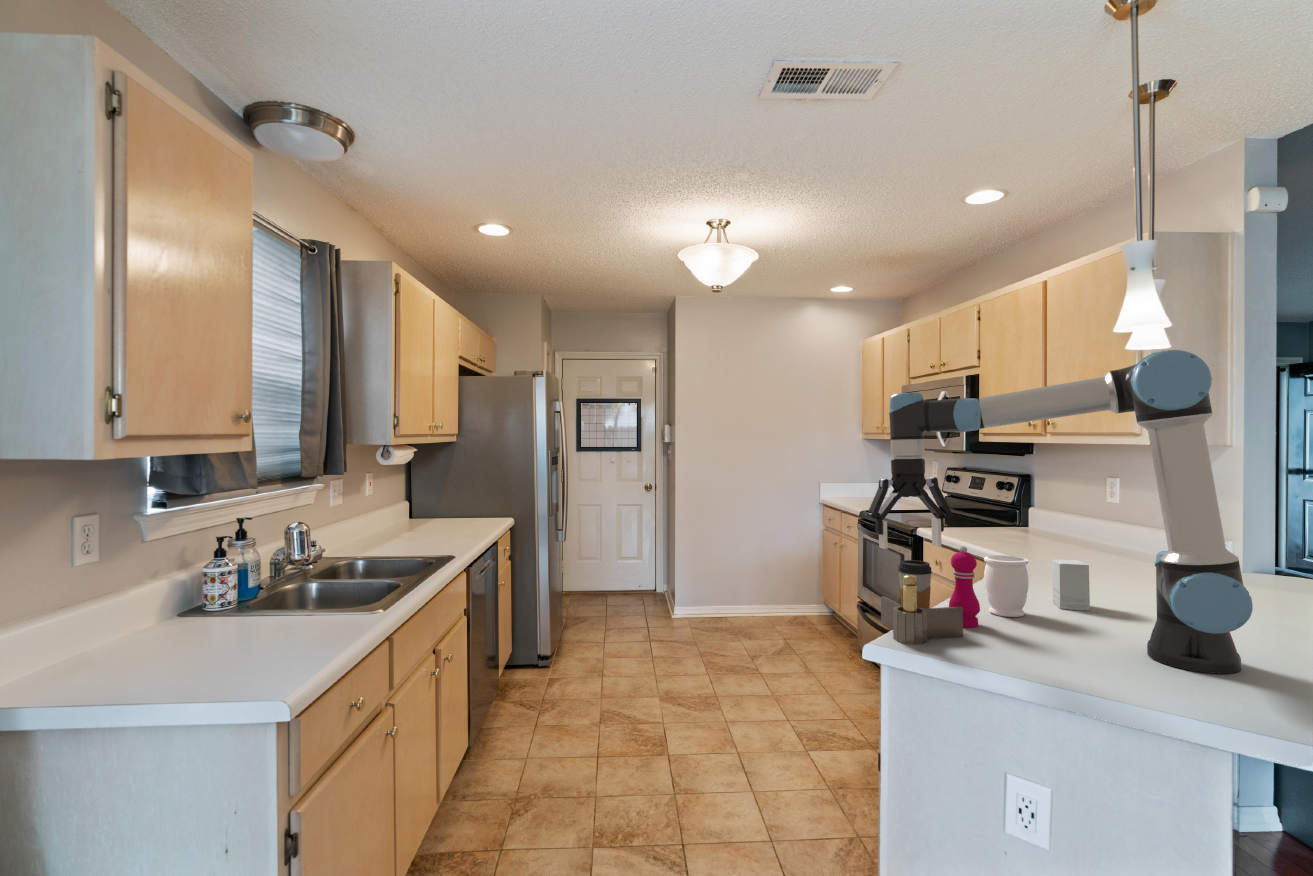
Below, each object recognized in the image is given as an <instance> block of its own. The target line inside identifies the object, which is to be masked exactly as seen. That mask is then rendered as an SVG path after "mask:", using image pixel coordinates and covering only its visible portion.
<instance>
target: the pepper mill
mask: <svg viewBox="0 0 1313 876" xmlns="http://www.w3.org/2000/svg"><path fill="white" fill-rule="evenodd" d="M977 563H978V561H977V559H976V557H975V556H974V555H973V554H972V553H970V552H968V548H967V547H966V546H964V545H962V546H960V547H959V552H956V553H954V554H952V556H951V558H950V565H951V567H952V568H953V571H952V577H954V580H955V583H954V589H953V591H952V594H951V596H950V598H949V601H948V607H962V608H963V628H975V627H976V628H977V627H978V626H979V617H977V616H978V614H979V613H980V612H981V605H980V602H979V599H978V597H977V595H976V593H975V589H974V585H973V582H974V578H975V572H974V570H975V569H976V568H977V565H978V564H977Z"/></svg>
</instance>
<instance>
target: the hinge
mask: <svg viewBox="0 0 1313 876" xmlns="http://www.w3.org/2000/svg"><path fill="white" fill-rule="evenodd" d="M880 624H882V625H883V626H885V627H886V628H888V629H890V630H892V633H893V637H892V639H893V640H895V641H896V642H899V643H901V644H907V645H908V644H909V645H924V644H926V643H928V640H931V639H932V640H933V639H949V638H950V639H951V638H963V637H964V627H963V608H962V607H949V606H947V607H945V606H944V607H943V606H942V607H929V608H924V609H923V608H920V607H917V613H906V612H903V605H901V603H900V602H897V601H895V600H893V599H891V598H890V597H889V598H888V597H886V596H884V595H883V596H880Z"/></svg>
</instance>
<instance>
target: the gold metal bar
mask: <svg viewBox="0 0 1313 876" xmlns="http://www.w3.org/2000/svg"><path fill="white" fill-rule="evenodd" d="M903 612H906V613H917V577H916V576H914V575H903Z"/></svg>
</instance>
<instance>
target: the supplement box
mask: <svg viewBox="0 0 1313 876" xmlns="http://www.w3.org/2000/svg"><path fill="white" fill-rule="evenodd" d="M1051 562H1052V564H1051V567H1052V570H1051V571H1052V575H1051V576H1052V603H1053V604H1054V605H1055V606H1056V607H1058V608H1059V609H1061V610H1062V609H1063V610H1073V611H1074V610H1075V611H1088V612H1089V611H1090V610H1091V608H1090V605H1091V602H1090V601H1091V600H1090V597H1091V596H1090V565H1089V564H1088V563H1086V562H1084V561H1082V560H1077V559H1076V560H1075V559H1052V560H1051Z"/></svg>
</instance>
